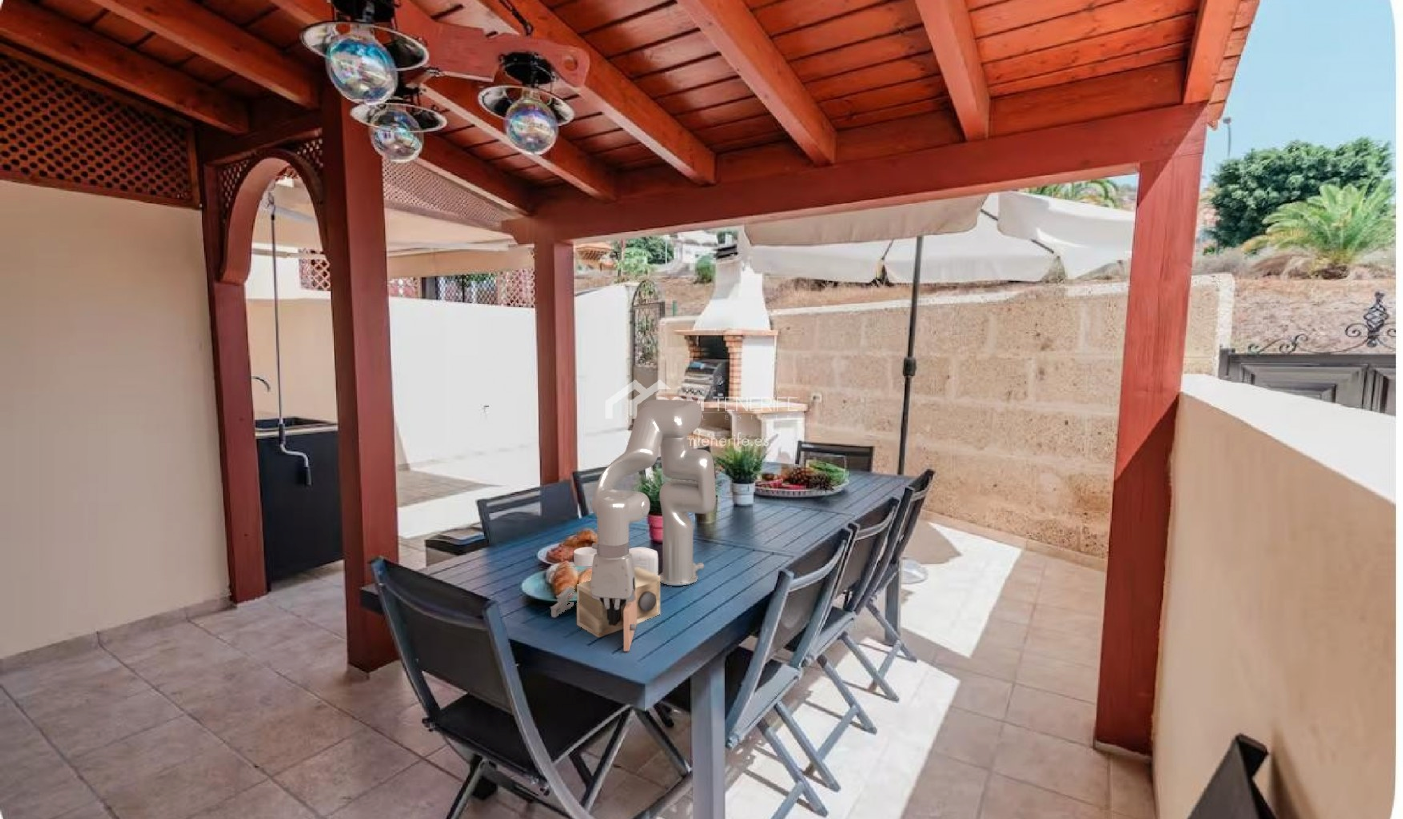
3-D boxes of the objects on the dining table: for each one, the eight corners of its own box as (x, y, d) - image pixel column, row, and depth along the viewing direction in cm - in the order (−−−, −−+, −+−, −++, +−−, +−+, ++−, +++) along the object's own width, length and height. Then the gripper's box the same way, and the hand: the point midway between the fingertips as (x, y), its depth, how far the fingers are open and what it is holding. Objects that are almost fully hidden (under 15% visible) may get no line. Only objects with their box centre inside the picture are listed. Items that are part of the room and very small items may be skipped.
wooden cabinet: (638, 604, 178) (637, 566, 177) (663, 616, 170) (663, 577, 169) (577, 625, 165) (576, 584, 164) (601, 639, 156) (601, 596, 155)
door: (632, 624, 164) (632, 587, 163) (641, 624, 164) (641, 587, 163) (623, 651, 149) (623, 611, 148) (633, 651, 149) (633, 611, 148)
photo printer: (659, 586, 193) (659, 546, 192) (656, 591, 188) (655, 551, 187) (627, 583, 195) (627, 544, 194) (623, 588, 191) (623, 548, 189)
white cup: (601, 577, 200) (600, 546, 199) (597, 586, 192) (597, 554, 191) (576, 577, 200) (575, 547, 199) (571, 586, 192) (571, 555, 191)
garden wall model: (555, 618, 169) (555, 597, 168) (549, 617, 169) (549, 596, 169) (579, 602, 180) (579, 582, 179) (574, 601, 181) (574, 581, 180)
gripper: (577, 551, 148) (578, 627, 149) (638, 556, 145) (638, 633, 146) (590, 542, 155) (591, 614, 157) (647, 546, 152) (648, 619, 154)
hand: (614, 623), depth 152 cm, fingers closed
